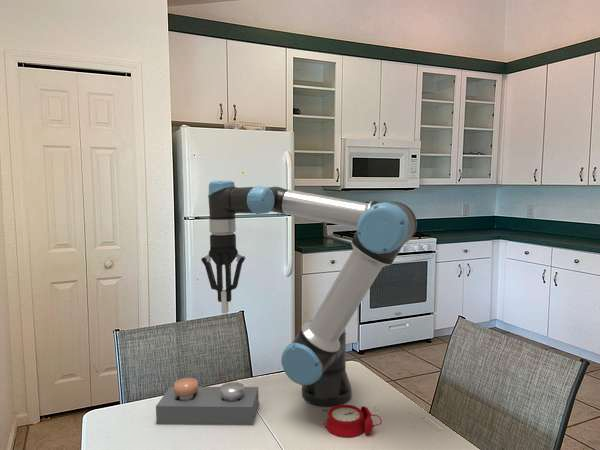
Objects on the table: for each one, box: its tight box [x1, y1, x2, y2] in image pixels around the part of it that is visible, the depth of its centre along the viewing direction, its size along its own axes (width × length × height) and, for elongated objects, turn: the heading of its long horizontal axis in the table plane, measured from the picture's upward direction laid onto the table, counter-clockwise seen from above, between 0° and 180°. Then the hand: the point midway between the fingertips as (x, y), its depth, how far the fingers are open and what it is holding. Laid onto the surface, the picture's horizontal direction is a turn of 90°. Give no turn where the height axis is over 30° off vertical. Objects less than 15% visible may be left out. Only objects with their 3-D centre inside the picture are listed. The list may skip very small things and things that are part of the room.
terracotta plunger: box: [173, 377, 199, 400], centre depth 126 cm, size 6×6×7 cm
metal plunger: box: [220, 381, 245, 401], centre depth 125 cm, size 6×6×7 cm
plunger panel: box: [155, 386, 260, 426], centre depth 126 cm, size 26×12×5 cm, turn 88°
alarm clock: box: [322, 404, 383, 438], centre depth 118 cm, size 10×6×15 cm
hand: (225, 312), depth 133 cm, fingers closed
